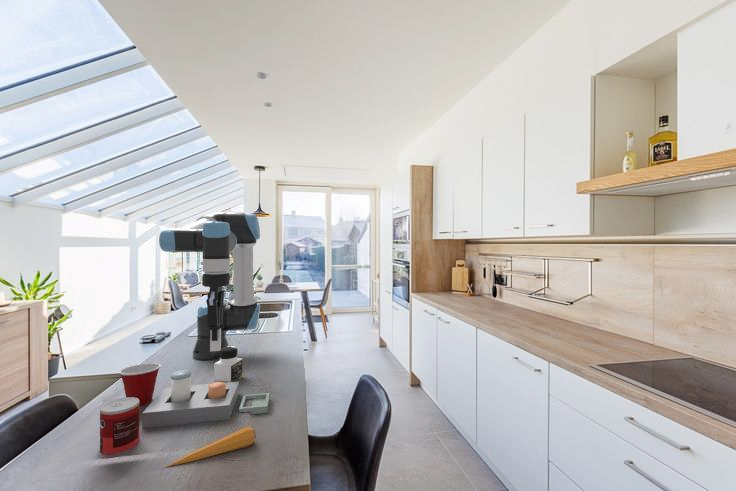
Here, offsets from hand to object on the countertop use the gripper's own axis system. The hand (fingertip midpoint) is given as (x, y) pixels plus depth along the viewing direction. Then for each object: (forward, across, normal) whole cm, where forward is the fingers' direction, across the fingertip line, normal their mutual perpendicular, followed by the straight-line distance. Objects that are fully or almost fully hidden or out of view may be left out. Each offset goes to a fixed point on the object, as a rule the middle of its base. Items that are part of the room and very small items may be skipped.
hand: (215, 350), depth 100 cm
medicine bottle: (+19, -23, 0) cm, 30 cm away
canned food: (+19, +15, -19) cm, 30 cm away
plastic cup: (+19, -8, -23) cm, 31 cm away
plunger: (+17, 0, +1) cm, 17 cm away
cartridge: (+17, 0, -10) cm, 20 cm away
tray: (+18, 0, +12) cm, 22 cm away
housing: (+18, 0, -6) cm, 19 cm away
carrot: (+19, +22, +4) cm, 29 cm away
